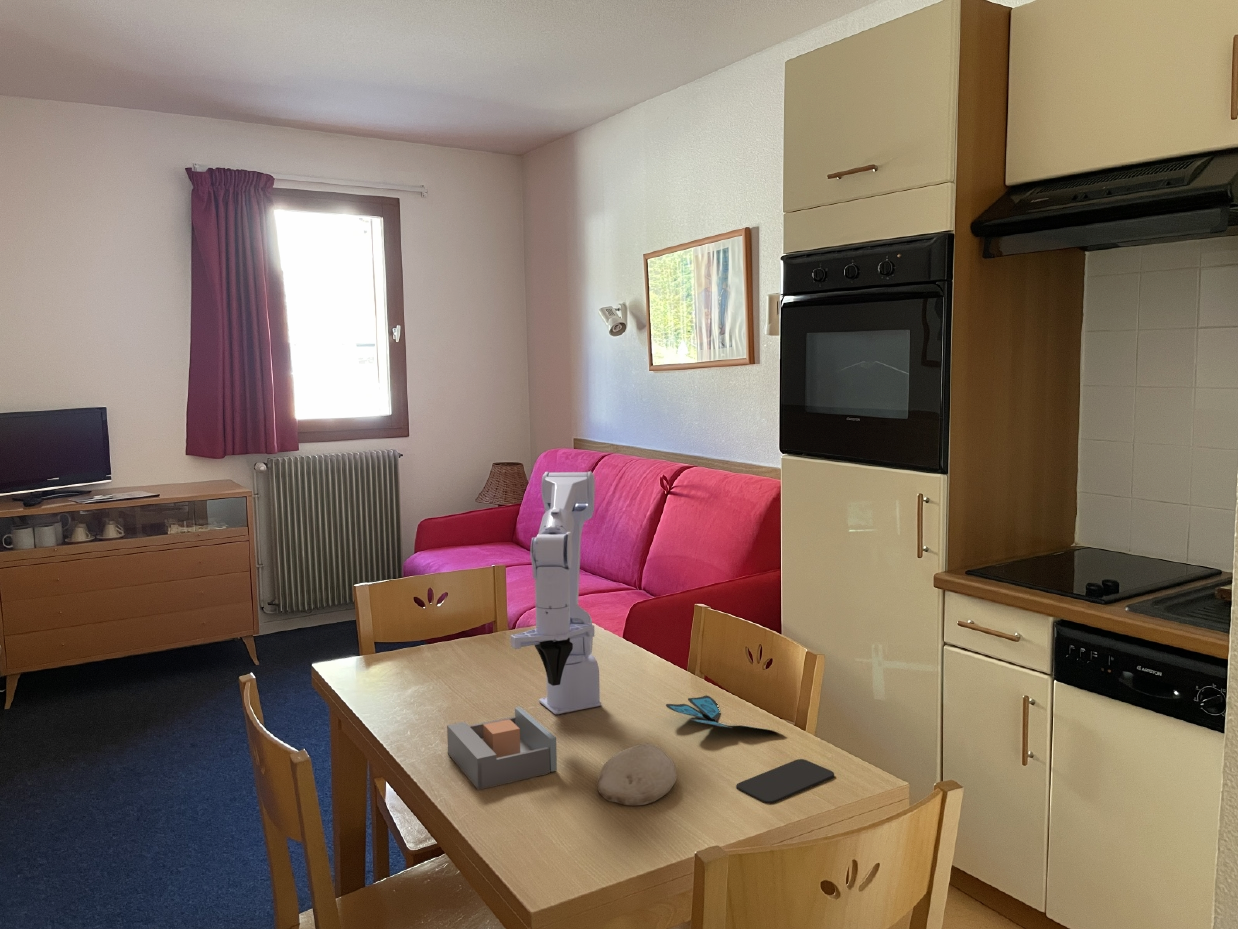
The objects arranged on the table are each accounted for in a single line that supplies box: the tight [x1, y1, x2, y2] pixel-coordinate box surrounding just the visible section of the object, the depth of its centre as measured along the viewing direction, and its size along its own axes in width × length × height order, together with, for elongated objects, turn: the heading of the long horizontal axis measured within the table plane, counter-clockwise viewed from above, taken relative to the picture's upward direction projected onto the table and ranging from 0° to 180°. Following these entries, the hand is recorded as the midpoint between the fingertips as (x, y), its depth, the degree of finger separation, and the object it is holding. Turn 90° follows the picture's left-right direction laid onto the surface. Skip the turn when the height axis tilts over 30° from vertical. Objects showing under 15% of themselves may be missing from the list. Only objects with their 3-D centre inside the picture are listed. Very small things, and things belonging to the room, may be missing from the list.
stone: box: [596, 742, 677, 806], centre depth 136 cm, size 13×10×8 cm
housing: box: [446, 716, 551, 791], centre depth 146 cm, size 12×15×5 cm
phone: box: [735, 758, 835, 805], centre depth 138 cm, size 7×1×15 cm
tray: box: [481, 706, 558, 772], centre depth 146 cm, size 12×15×5 cm
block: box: [483, 719, 520, 758], centre depth 146 cm, size 4×4×5 cm
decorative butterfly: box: [665, 694, 780, 732], centre depth 160 cm, size 20×14×3 cm
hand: (554, 683), depth 155 cm, fingers closed
